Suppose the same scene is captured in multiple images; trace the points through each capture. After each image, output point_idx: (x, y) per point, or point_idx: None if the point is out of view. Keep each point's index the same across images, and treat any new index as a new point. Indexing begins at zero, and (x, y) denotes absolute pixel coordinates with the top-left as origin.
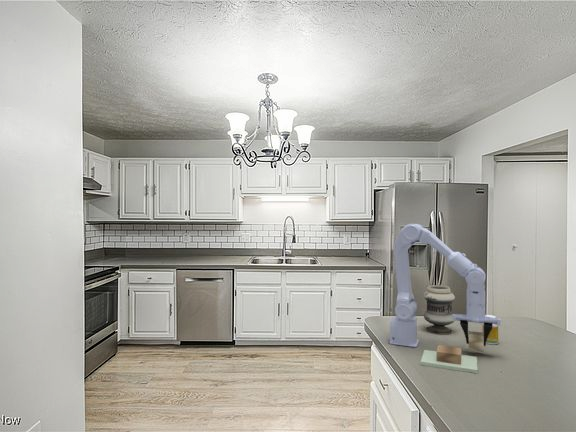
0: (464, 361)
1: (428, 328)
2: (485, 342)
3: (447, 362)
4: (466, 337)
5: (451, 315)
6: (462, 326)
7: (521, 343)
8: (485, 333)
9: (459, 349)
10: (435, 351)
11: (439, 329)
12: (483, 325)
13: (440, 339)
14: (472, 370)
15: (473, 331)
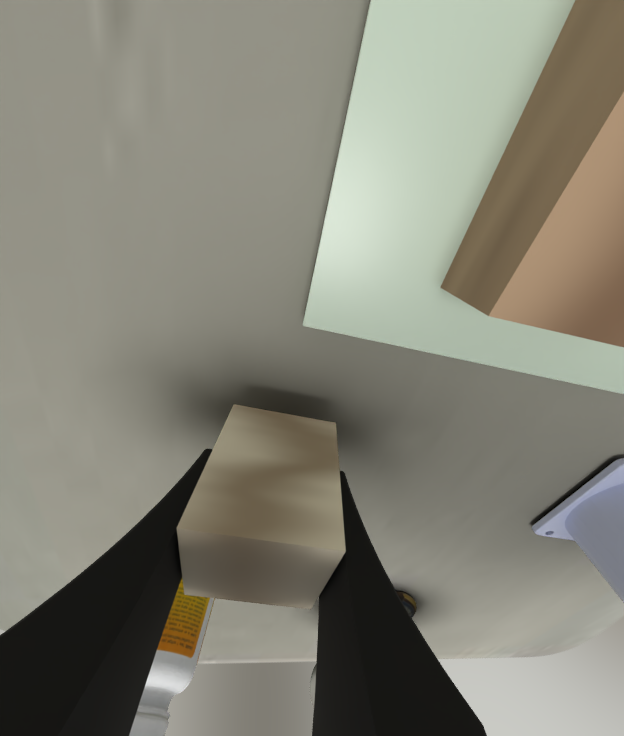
0: (467, 154)
1: (411, 614)
2: (193, 470)
3: None
4: (354, 519)
5: None
6: (453, 706)
7: (77, 550)
8: (135, 571)
9: (556, 242)
10: (586, 382)
11: None
12: (188, 657)
13: (401, 550)
14: None
15: (269, 603)
